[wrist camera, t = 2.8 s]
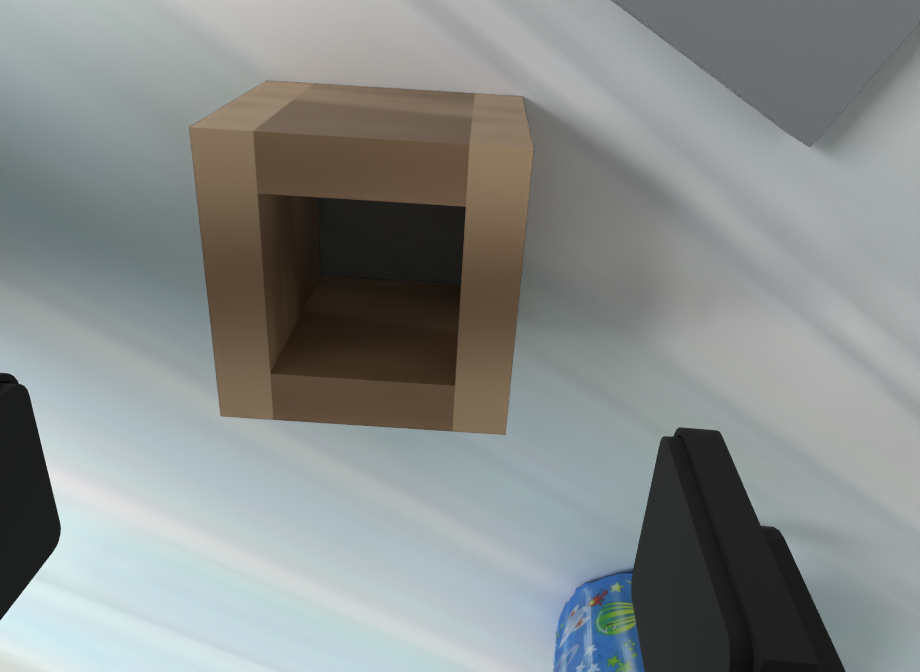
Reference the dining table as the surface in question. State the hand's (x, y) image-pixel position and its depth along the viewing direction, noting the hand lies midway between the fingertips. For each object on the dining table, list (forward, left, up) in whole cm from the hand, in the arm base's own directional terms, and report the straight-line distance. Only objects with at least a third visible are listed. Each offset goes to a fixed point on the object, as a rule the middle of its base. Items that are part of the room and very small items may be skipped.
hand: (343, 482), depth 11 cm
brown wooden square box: (0, +1, -13) cm, 12 cm away
